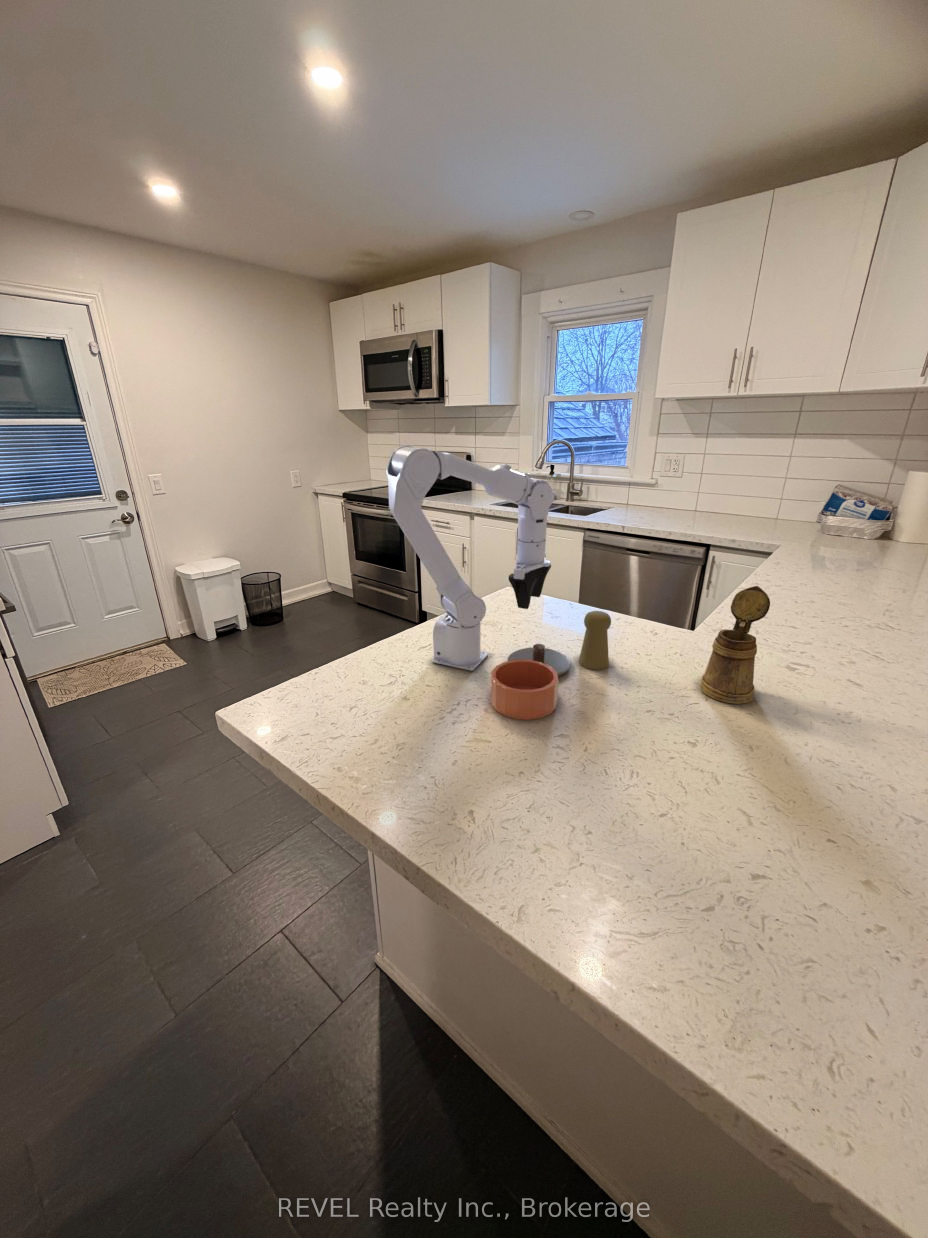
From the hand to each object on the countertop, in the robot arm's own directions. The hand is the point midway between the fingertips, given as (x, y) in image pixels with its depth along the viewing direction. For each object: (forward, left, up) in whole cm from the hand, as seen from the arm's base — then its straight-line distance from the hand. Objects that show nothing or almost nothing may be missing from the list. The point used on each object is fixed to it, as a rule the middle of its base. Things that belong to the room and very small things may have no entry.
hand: (529, 601), depth 106 cm
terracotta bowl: (+7, -22, -10) cm, 25 cm away
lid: (+5, -8, -10) cm, 14 cm away
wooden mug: (+40, -1, -11) cm, 41 cm away
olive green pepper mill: (+15, -2, -11) cm, 18 cm away
